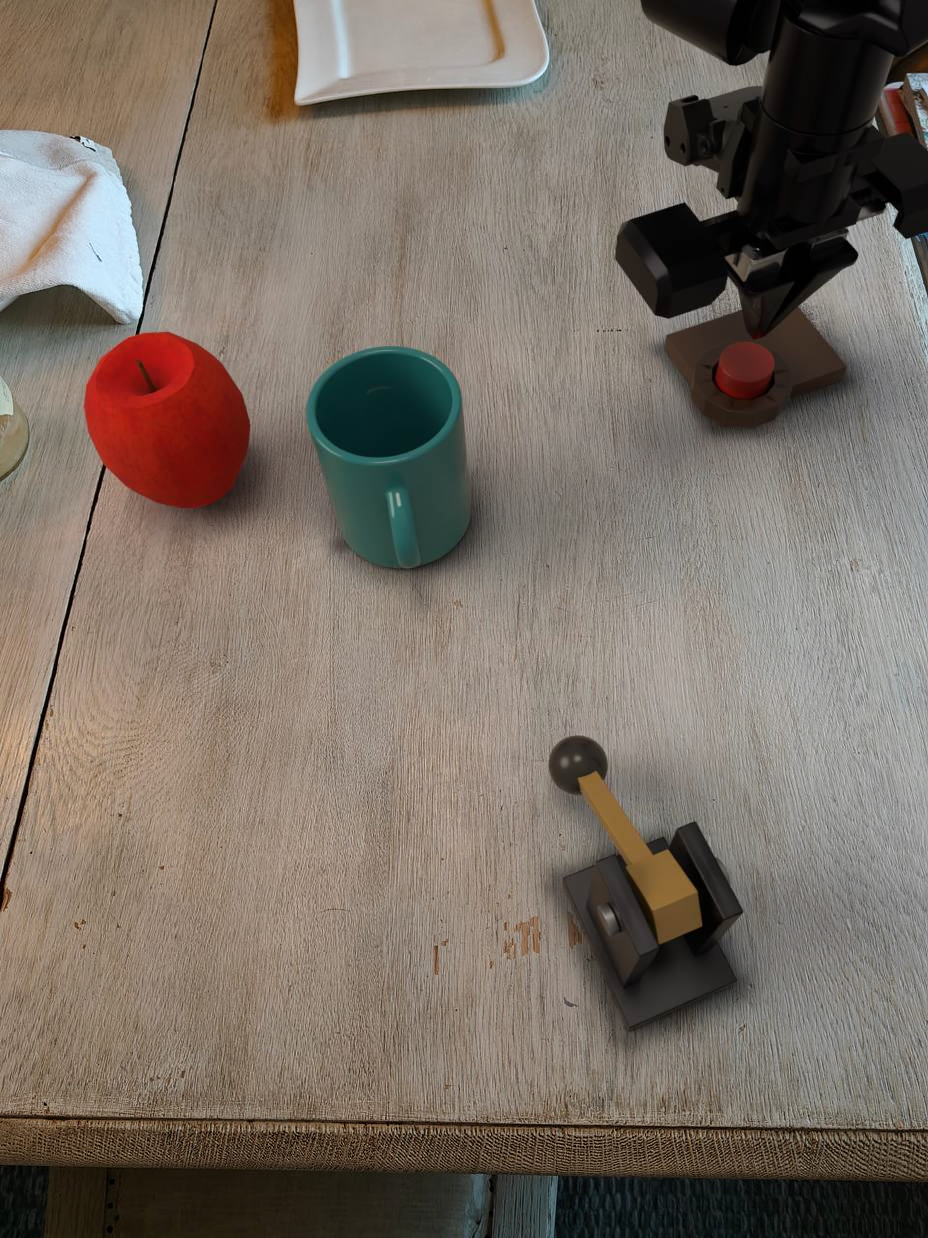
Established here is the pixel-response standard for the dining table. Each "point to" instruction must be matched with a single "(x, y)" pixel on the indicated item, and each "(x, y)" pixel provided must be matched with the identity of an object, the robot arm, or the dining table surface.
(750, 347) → the button
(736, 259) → the robot arm
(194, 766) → the dining table surface
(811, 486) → the dining table surface
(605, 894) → the switch bracket
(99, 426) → the apple
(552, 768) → the switch lever
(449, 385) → the cup
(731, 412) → the button block
